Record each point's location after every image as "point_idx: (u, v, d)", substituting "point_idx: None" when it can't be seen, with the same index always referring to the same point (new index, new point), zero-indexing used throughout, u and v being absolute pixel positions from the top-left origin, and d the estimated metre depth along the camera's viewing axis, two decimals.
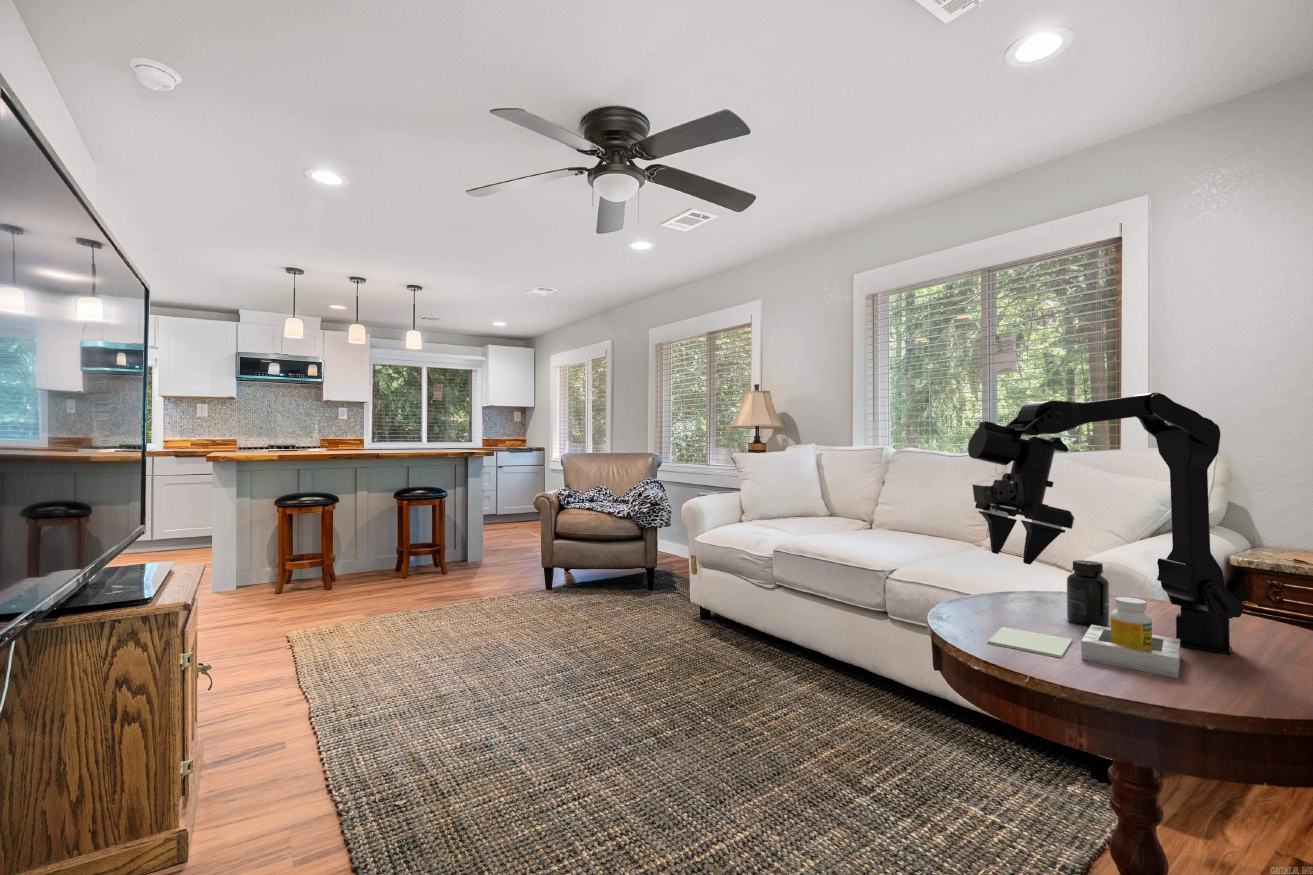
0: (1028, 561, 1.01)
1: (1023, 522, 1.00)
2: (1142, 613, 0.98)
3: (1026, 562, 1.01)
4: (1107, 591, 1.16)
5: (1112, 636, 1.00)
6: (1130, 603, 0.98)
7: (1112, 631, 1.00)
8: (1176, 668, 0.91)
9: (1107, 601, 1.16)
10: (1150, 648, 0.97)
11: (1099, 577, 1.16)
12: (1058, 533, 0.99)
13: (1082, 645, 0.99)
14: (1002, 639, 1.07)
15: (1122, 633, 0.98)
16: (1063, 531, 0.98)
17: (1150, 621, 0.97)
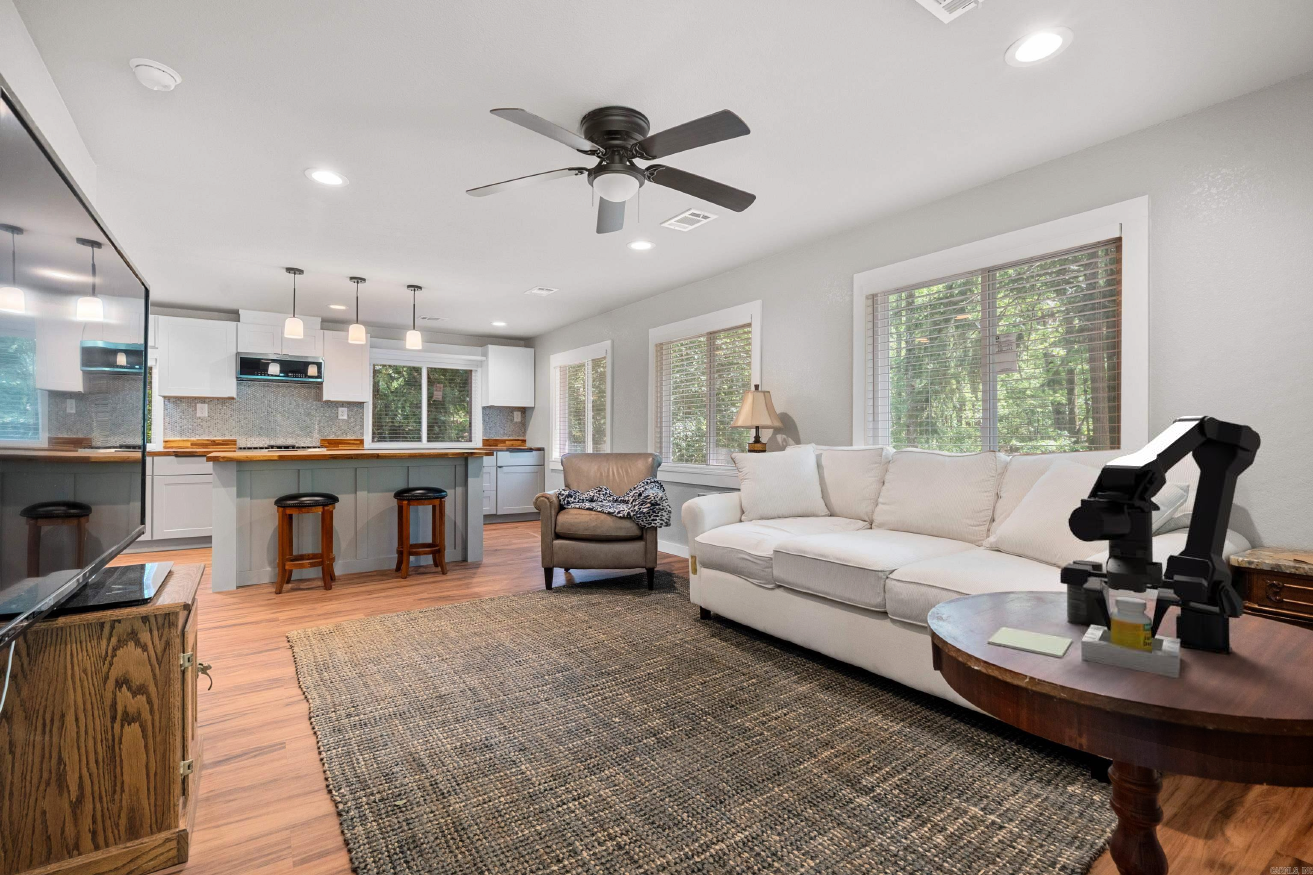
0: (1155, 634, 0.97)
1: (1160, 600, 0.95)
2: (1142, 613, 0.98)
3: None
4: None
5: (1112, 636, 1.00)
6: (1130, 603, 0.98)
7: (1112, 631, 1.00)
8: (1176, 668, 0.91)
9: None
10: (1150, 648, 0.97)
11: None
12: None
13: (1082, 645, 0.99)
14: (1002, 639, 1.07)
15: (1122, 633, 0.98)
16: None
17: (1150, 621, 0.97)
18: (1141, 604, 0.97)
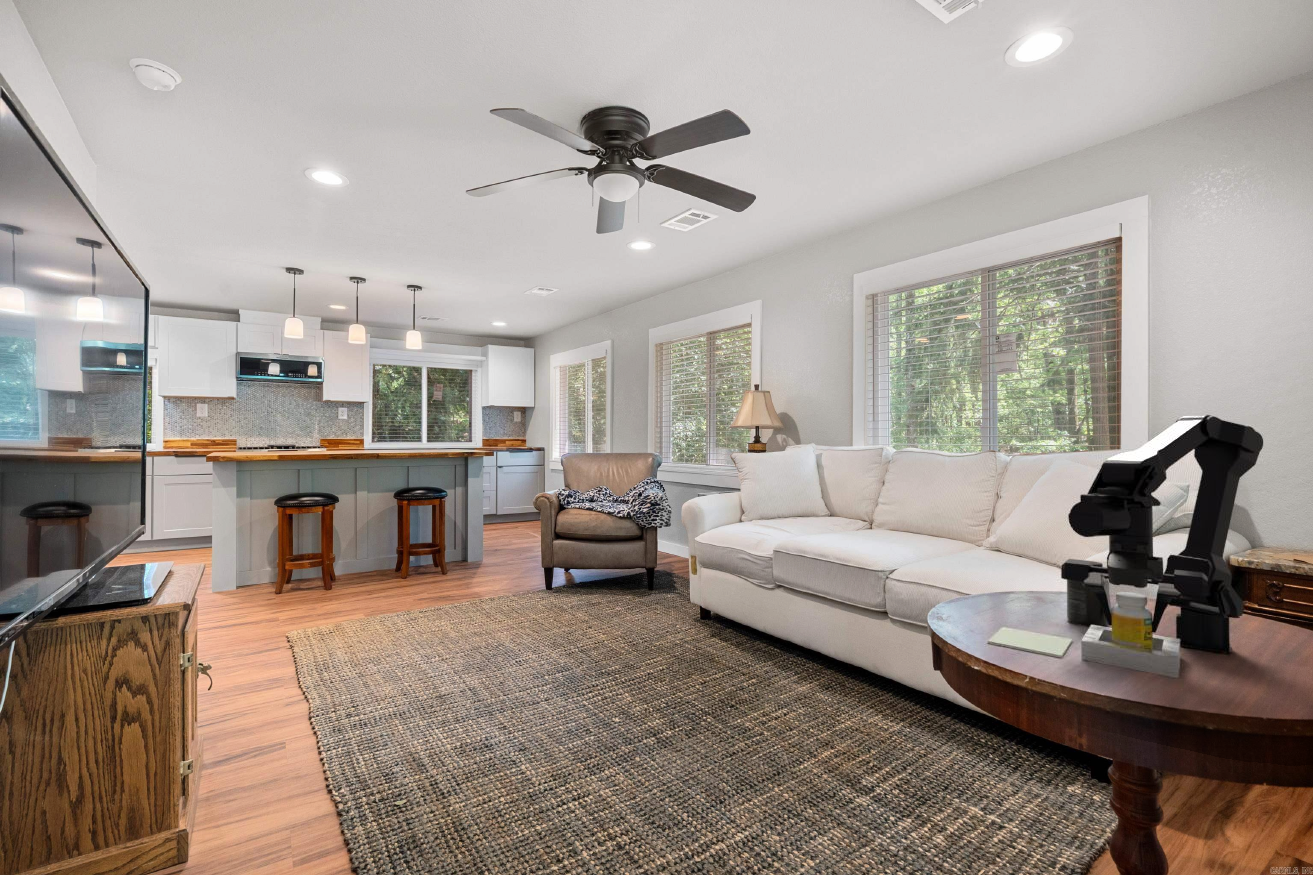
0: (1156, 629, 0.97)
1: (1161, 595, 0.95)
2: (1143, 608, 0.98)
3: None
4: None
5: (1113, 631, 1.00)
6: (1131, 598, 0.98)
7: (1113, 626, 1.00)
8: (1176, 668, 0.91)
9: None
10: (1151, 642, 0.97)
11: None
12: None
13: (1082, 645, 0.99)
14: (1002, 639, 1.07)
15: (1123, 628, 0.98)
16: None
17: (1151, 616, 0.97)
18: (1142, 599, 0.98)
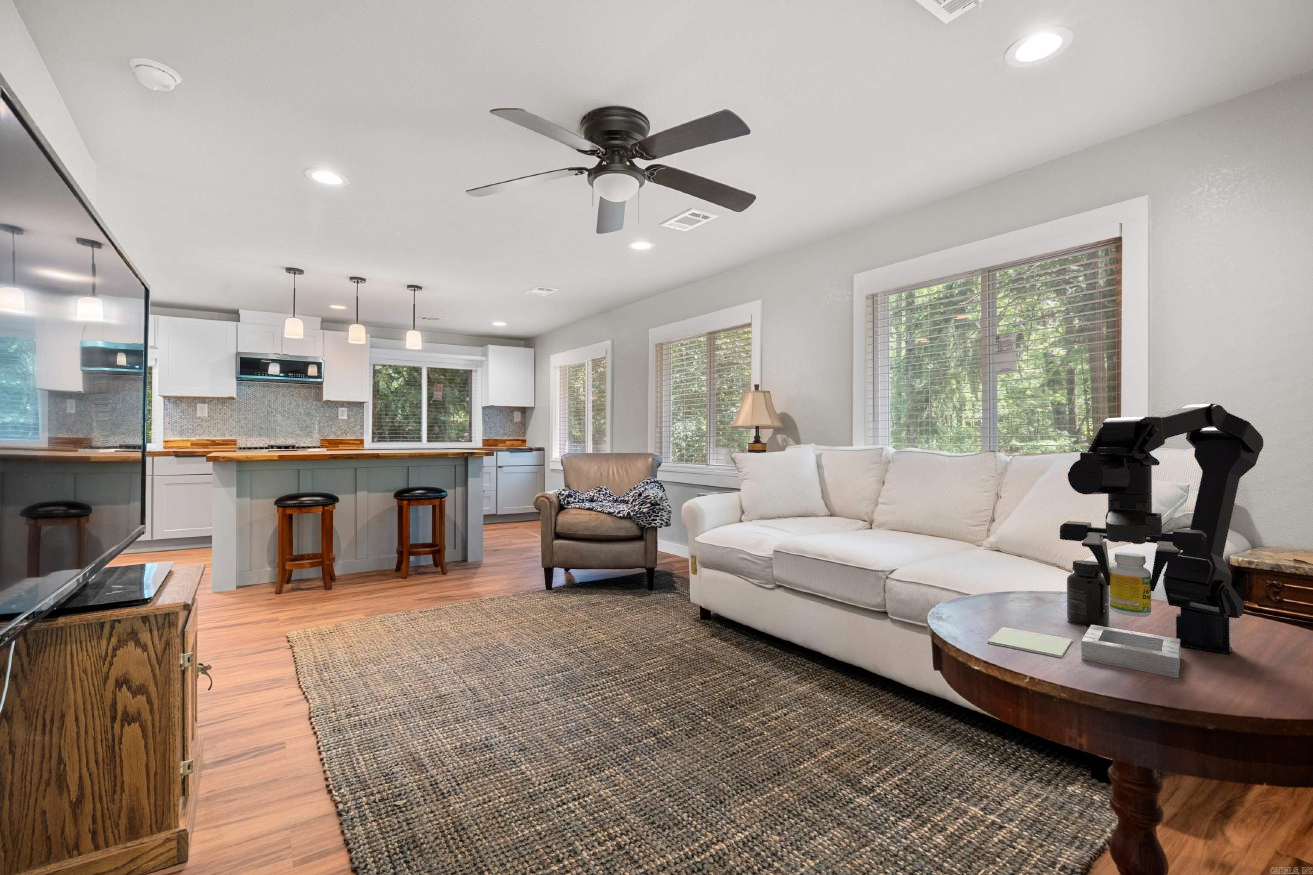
0: None
1: (1159, 552, 0.95)
2: (1141, 567, 0.98)
3: None
4: (1107, 591, 1.16)
5: (1111, 591, 1.00)
6: (1129, 557, 0.98)
7: (1111, 586, 1.00)
8: (1176, 668, 0.91)
9: (1107, 601, 1.16)
10: (1149, 601, 0.97)
11: (1099, 577, 1.16)
12: None
13: (1082, 645, 0.99)
14: (1002, 639, 1.07)
15: (1121, 587, 0.98)
16: None
17: (1149, 574, 0.97)
18: (1140, 558, 0.97)
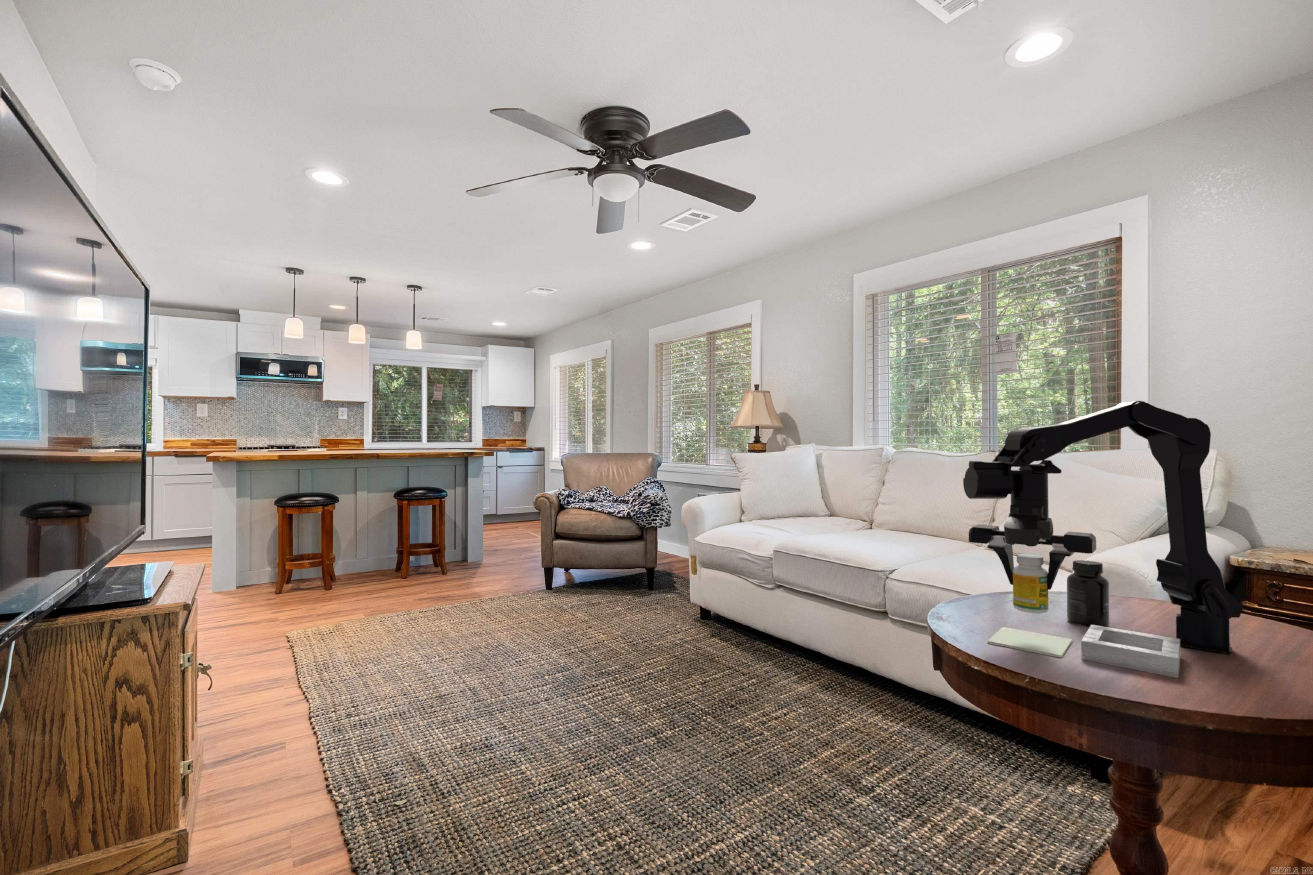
0: (1051, 586, 1.05)
1: (1053, 554, 1.02)
2: (1039, 567, 1.05)
3: (1050, 588, 1.05)
4: (1107, 591, 1.16)
5: (1013, 590, 1.08)
6: (1028, 558, 1.06)
7: (1013, 585, 1.08)
8: (1176, 668, 0.91)
9: (1107, 601, 1.16)
10: (1046, 599, 1.05)
11: (1099, 577, 1.16)
12: None
13: (1082, 645, 0.99)
14: (1002, 639, 1.07)
15: (1021, 586, 1.06)
16: (1074, 551, 1.05)
17: (1046, 574, 1.05)
18: (1038, 559, 1.05)
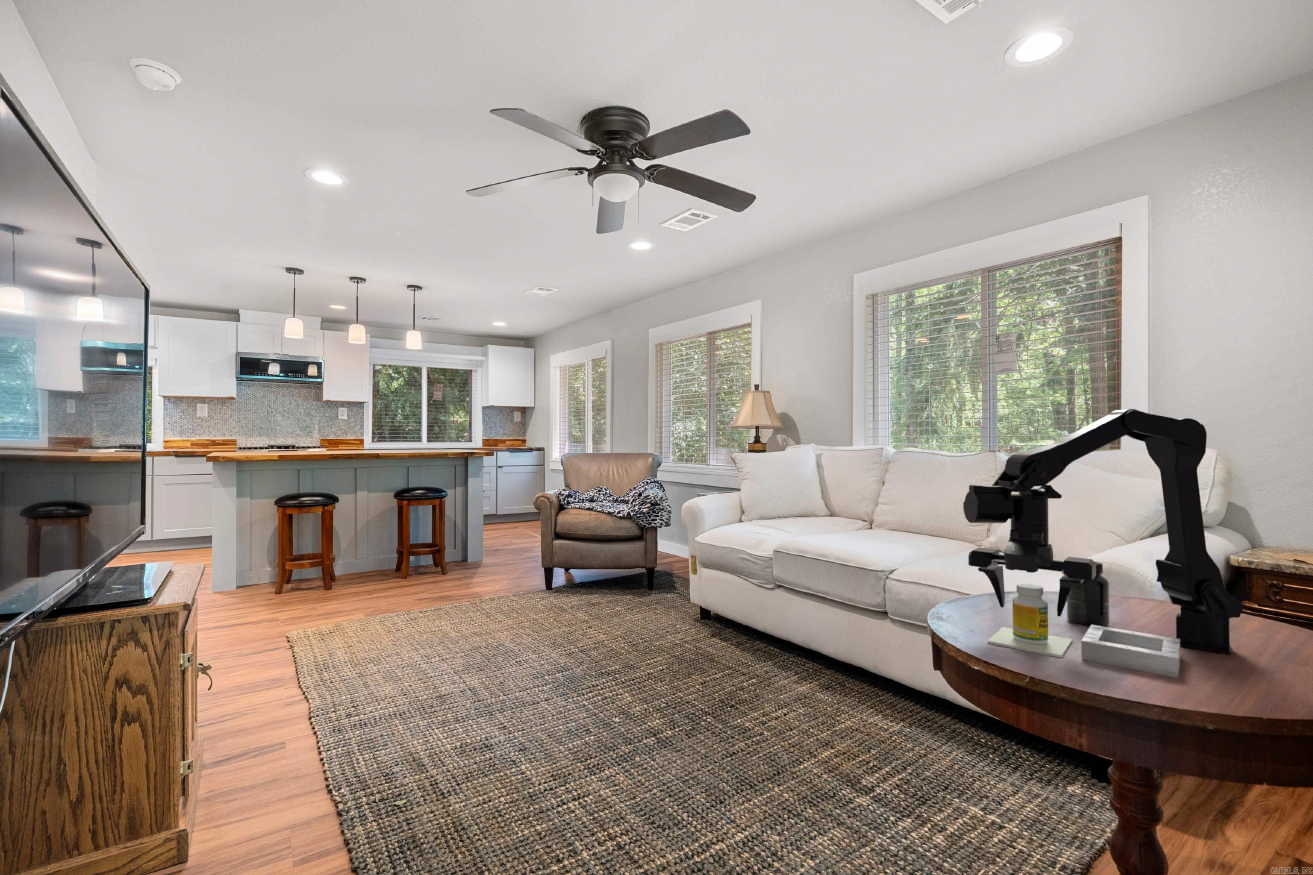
0: (1061, 613, 1.04)
1: (1063, 581, 1.01)
2: (1039, 598, 1.05)
3: (1060, 615, 1.04)
4: (1107, 591, 1.16)
5: (1013, 619, 1.08)
6: (1028, 588, 1.06)
7: (1013, 615, 1.08)
8: (1176, 668, 0.91)
9: (1107, 601, 1.16)
10: (1046, 630, 1.05)
11: (1099, 577, 1.16)
12: None
13: (1082, 645, 0.99)
14: (1002, 639, 1.07)
15: (1020, 617, 1.06)
16: None
17: (1045, 605, 1.05)
18: (1037, 589, 1.05)
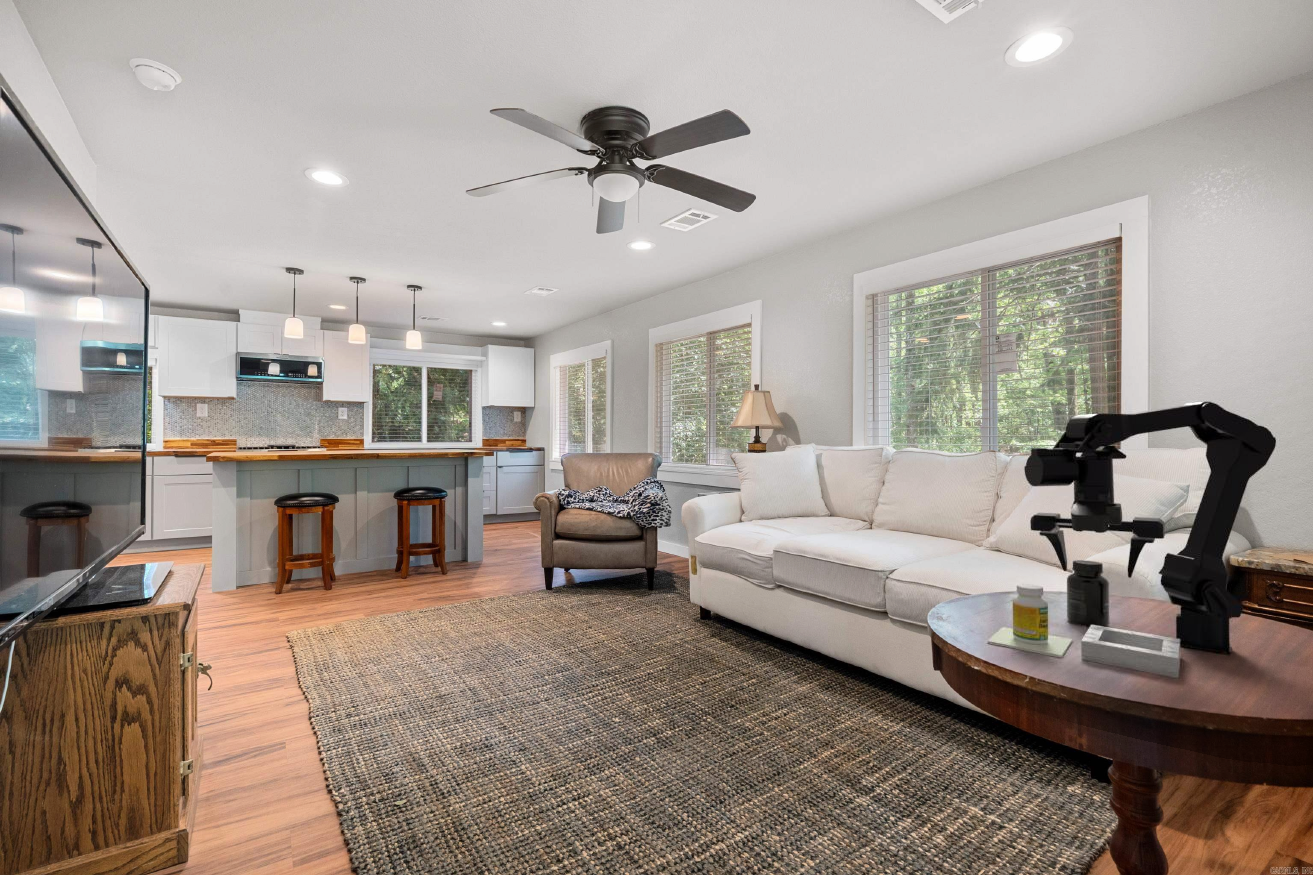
0: None
1: (1134, 541, 1.00)
2: (1039, 598, 1.05)
3: None
4: (1107, 591, 1.16)
5: (1013, 619, 1.08)
6: (1028, 589, 1.06)
7: (1013, 615, 1.08)
8: (1176, 668, 0.91)
9: (1107, 601, 1.16)
10: (1046, 630, 1.05)
11: (1099, 577, 1.16)
12: None
13: (1082, 645, 0.99)
14: (1002, 639, 1.07)
15: (1020, 617, 1.06)
16: None
17: (1046, 605, 1.05)
18: (1037, 589, 1.05)
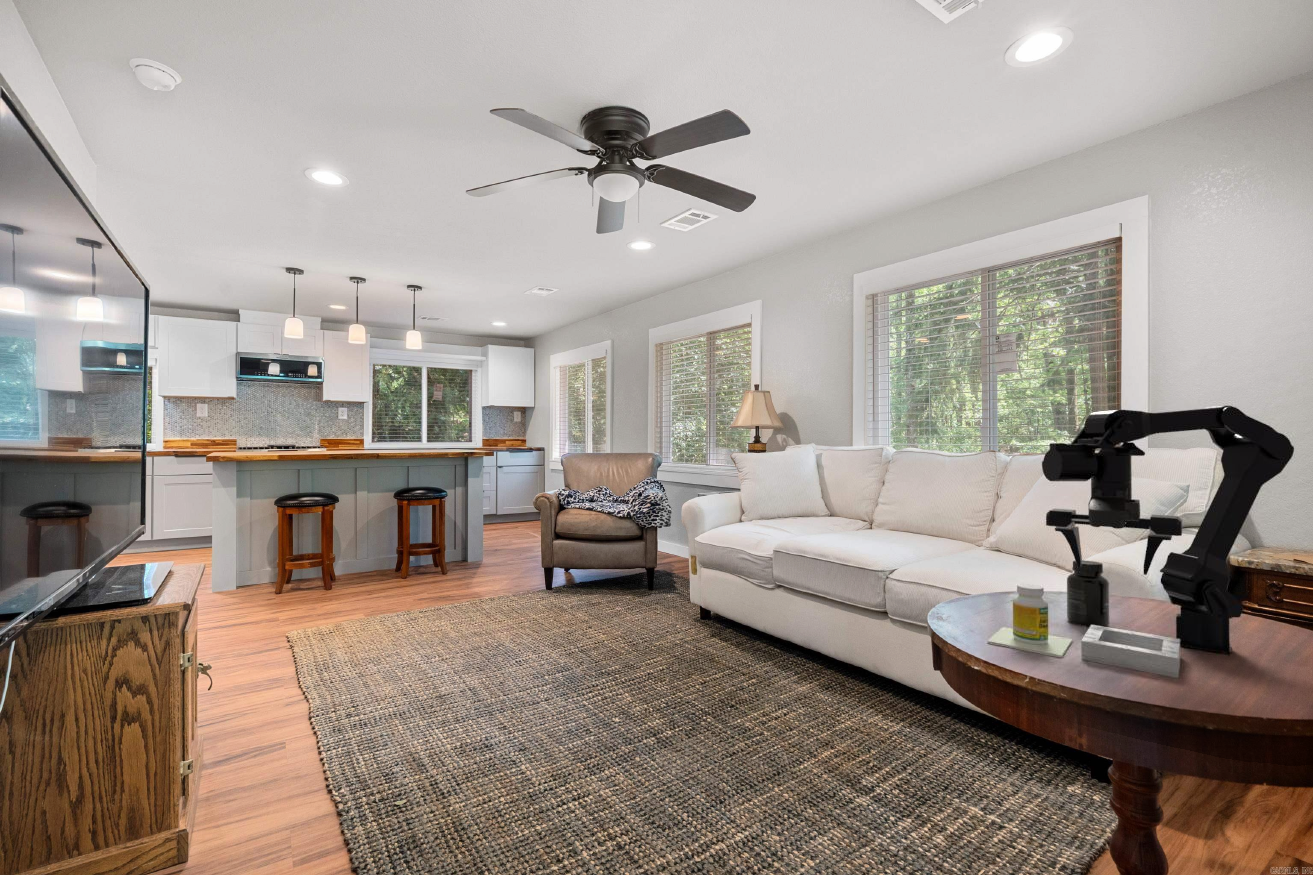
0: (1147, 572, 1.02)
1: (1152, 538, 1.00)
2: (1039, 598, 1.05)
3: None
4: (1107, 591, 1.16)
5: (1013, 619, 1.08)
6: (1028, 589, 1.06)
7: (1013, 615, 1.08)
8: (1176, 668, 0.91)
9: (1107, 601, 1.16)
10: (1046, 630, 1.05)
11: (1099, 577, 1.16)
12: None
13: (1082, 645, 0.99)
14: (1002, 639, 1.07)
15: (1021, 617, 1.06)
16: None
17: (1046, 605, 1.05)
18: (1038, 590, 1.05)
